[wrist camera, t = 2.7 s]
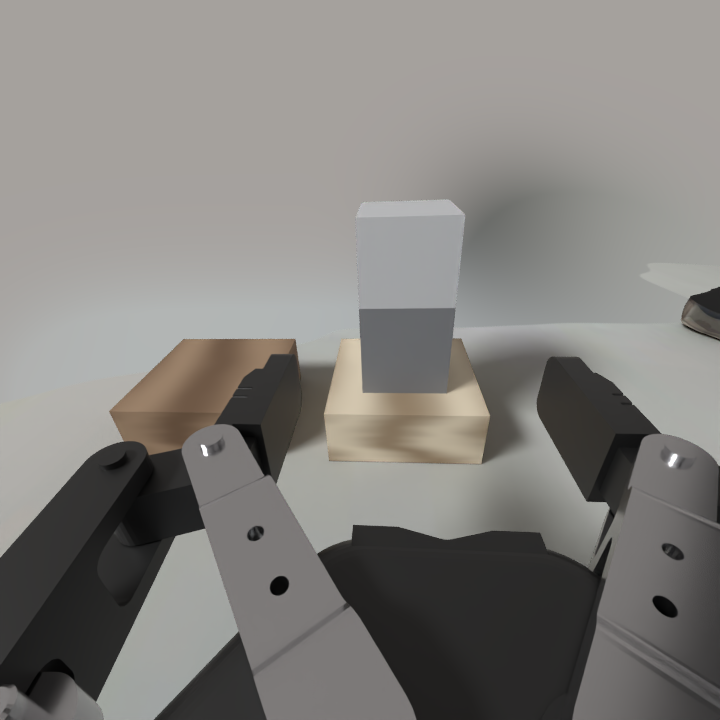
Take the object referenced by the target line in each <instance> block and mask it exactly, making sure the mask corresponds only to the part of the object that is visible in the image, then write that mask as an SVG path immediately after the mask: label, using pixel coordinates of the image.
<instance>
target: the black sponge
mask: <svg viewBox="0 0 720 720" xmlns="http://www.w3.org/2000/svg"><path fill="white" fill-rule="evenodd" d="M681 321H682V323H683V324H685V325H686V326H688V327H690V328H692V329H695V330H697V331H699V332H701V333H705V334H707V335H710V336H713V337H716V338H718V339H720V287H718V288H715V289H711V291H708V292H705V293H701V294H697V295H693V296H691V297H690V298H689V300H688V302H687V303H686V305H685V307H684V310H683V313H682V318H681Z"/></svg>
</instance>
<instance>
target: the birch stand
mask: <svg viewBox="0 0 720 720" xmlns="http://www.w3.org/2000/svg"><path fill="white" fill-rule="evenodd" d="M324 418H325V427H326V436H327V445H328V454H329V461H367V462H412V463H457V464H481V462H482V457H483V452H484V446H485V441H486V436H487V430H488V425H489V420H490V414H489V412H488V409H487V406H486V404H485V401H484V398H483V396H482V393H481V390H480V388H479V385H478V382H477V380H476V377H475V374H474V372H473V369H472V366H471V364H470V361H469V358H468V356H467V353H466V350H465V347H464V345H463V342H462V339H452V347H451V356H450V366H449V375H448V385H447V394H439V393H363V391H362V367H361V342H360V339H341V343H340V348H339V352H338V356H337V361H336V365H335V369H334V373H333V378H332V382H331V386H330V391H329V395H328V399H327V403H326V408H325V412H324Z"/></svg>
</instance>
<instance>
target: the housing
mask: <svg viewBox="0 0 720 720" xmlns="http://www.w3.org/2000/svg"><path fill="white" fill-rule="evenodd" d="M355 220H356V245H357V270H358V294H359V317H360V342H361V367H362V391H363V393H439V394H447V385H448V375H449V366H450V356H451V347H452V337H453V327H454V318H455V308H456V299H457V289H458V279H459V270H460V260H461V251H462V241H463V231H464V221H465V214H464V213H463V212H462V211H461V210H460V209H459V208H458V207H457V206H455V205H454V204H453V203H452V202H451V201H450V200H422V201H421V200H420V201H389V202H362V203H361V206H360V208H359V210H358V213H357V215H356V217H355Z"/></svg>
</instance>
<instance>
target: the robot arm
mask: <svg viewBox="0 0 720 720" xmlns="http://www.w3.org/2000/svg"><path fill="white" fill-rule="evenodd" d="M232 396H233V397H232V398H231V399H230V400H229V402H228V403H227V405H226V407H225V408H224V410H223V411H222V413H221V415H220V416H219V418H218V419H217V421H216V423H215V424H214V425H212V426H208V427H205V428H202V429H200V430H198V431H196V432H195V433H193V434H192V435H191V436H190V437H189V438H188V439H187V440H186V441H185V442H184V444H183V446H182V448H181V449H177V450H172V451H167V452H162V453H157V454H152V455H149V454H148V451H147V449H146V447H145V446H144V445H143V444H142V443H140V442H136V441H125V442H119V443H116V444H113V445H110V446H107V447H105V448H103V449H101V450H99V451H98V452H96V453H95V454H93V455H92V456H91V457H89V458H88V459H87V460H86V461H85V462H84V463H83V465H82V466H81V467H80V468H79V469H78V470H77V471H76V473H75V474H74V475H73V476H72V477H71V478H70V479H69V480H68V482H67V483H66V484H65V485H64V486H63V487H62V488H61V490H60V491H59V492H58V493H57V494H56V495H55V496H54V498H53V499H52V500H51V501H50V502H49V503H48V504H47V505H46V507H45V508H44V509H43V510H42V511H41V512H40V513H39V515H38V516H37V517H36V518H35V519H34V520H33V521H32V522H31V524H30V525H29V526H28V527H27V528H26V529H25V530H24V532H23V533H22V534H21V535H20V536H19V537H18V538H17V540H16V541H15V542H14V543H13V544H12V545H11V546H10V547H9V549H8V550H7V551H6V552H5V553H4V554H3V555H2V557H1V558H0V720H104V718H103V713H102V710H101V708H100V707H99V705H98V704H97V703H96V701H97V699H98V697H99V695H100V692H101V690H102V688H103V686H104V684H105V682H106V680H107V678H108V676H109V674H110V672H111V670H112V667H113V665H114V663H115V661H116V659H117V657H118V655H119V653H120V651H121V649H122V647H123V644H124V642H125V640H126V638H127V636H128V634H129V632H130V630H131V628H132V626H133V624H134V622H135V619H136V617H137V615H138V613H139V611H140V609H141V607H142V605H143V603H144V601H145V599H146V597H147V594H148V592H149V590H150V588H151V586H152V584H153V582H154V580H155V578H156V576H157V574H158V572H159V569H160V567H161V565H162V563H163V561H164V559H165V557H166V555H167V553H168V551H169V549H170V547H171V544H172V542H173V540H174V538H175V536H177V535H181V534H185V533H189V532H193V531H197V530H201V529H206V532H207V535H208V538H209V541H210V544H211V547H212V550H213V553H214V556H215V559H216V562H217V565H218V568H219V572H220V575H221V578H222V581H223V584H224V587H225V590H226V593H227V596H228V599H229V602H230V605H231V608H232V611H233V614H234V618H235V621H236V624H237V627H238V630H239V632H238V633H237V634H236V635H235V636H234V637H233V638H232V639H231V640H230V641H229V642H228V643H227V644H226V645H225V646H224V647H223V648H222V649H221V650H220V651H219V652H218V654H217V655H216V656H215V657H214V658H213V659H212V660H211V661H210V662H209V663H208V664H207V665H206V666H205V667H204V668H203V669H202V670H201V671H200V672H199V673H198V674H197V675H196V676H195V677H194V678H193V680H192V681H191V682H190V683H189V684H188V685H187V686H186V687H185V688H184V689H183V690H182V691H181V692H180V693H179V694H178V695H177V696H176V697H175V698H174V699H173V700H172V701H171V702H170V703H169V704H168V706H167V707H166V708H165V709H164V710H163V711H162V712H161V713H160V714H159V715H158V716H157V717H156V718H155V719H154V720H720V466H718V465H717V462H716V461H715V460H714V458H713V457H712V456H711V455H710V454H709V453H707V452H706V451H705V450H703V449H702V448H700V447H699V446H697V445H695V444H693V443H691V442H689V441H687V440H684V439H681V438H678V437H675V436H671V435H665V434H661V433H660V432H659V431H658V430H657V428H656V427H655V426H654V425H653V424H652V423H651V422H650V421H649V420H648V419H647V418H646V417H645V416H644V415H643V414H642V413H641V412H640V411H639V410H638V409H637V408H636V406H635V405H632V402H631V401H630V400H629V399H628V398H627V397H626V396H623V393H622V392H621V391H620V390H619V389H618V388H617V387H616V386H615V384H614V383H613V382H611V381H609V380H608V379H606V378H604V377H602V376H601V375H599V374H597V373H593V372H592V371H591V370H590V369H589V368H588V367H587V365H586V364H585V363H584V362H583V361H582V360H581V359H580V358H579V357H551V358H549V360H548V361H547V364H546V368H545V371H544V375H543V379H542V383H541V386H540V390H539V394H538V398H537V411H538V415H539V417H540V419H541V421H542V423H543V425H544V426H545V428H546V430H547V432H548V433H549V435H550V437H551V439H552V441H553V442H554V444H555V446H556V448H557V449H558V451H559V453H560V455H561V457H562V458H563V460H564V462H565V464H566V466H567V467H568V469H569V471H570V473H571V474H572V476H573V478H574V480H575V482H576V483H577V485H578V487H579V489H580V490H581V492H582V494H583V496H584V498H585V499H586V501H587V502H607V504H608V506H609V507H610V508H609V510H608V512H607V514H606V516H605V519H604V522H603V525H602V528H601V531H600V534H599V537H598V540H597V543H596V546H595V549H594V552H593V555H592V558H591V561H590V564H589V567H588V568H587V567H585V566H583V565H582V564H580V563H578V562H576V561H574V560H572V559H570V558H568V557H566V556H564V555H562V554H559V553H556V552H554V551H551V550H547V549H546V547H545V544H544V542H543V539H542V537H541V534H540V533H534V532H510V531H490V532H485V533H480V534H475V535H471V536H466V537H461V538H456V539H451V540H444V539H439V538H436V537H432V536H429V535H425V534H422V533H418V532H414V531H411V530H407V529H404V528H400V527H388V526H364V525H353V532H352V540H348V541H344V542H341V543H338V544H335V545H332V546H330V547H328V548H326V549H324V550H322V551H321V552H319V553H318V554H317V553H316V552H315V550H314V548H313V547H312V545H311V543H310V541H309V540H308V538H307V536H306V535H305V533H304V531H303V529H302V528H301V526H300V524H299V523H298V521H297V519H296V518H295V516H294V514H293V512H292V511H291V509H290V507H289V506H288V504H287V502H286V500H285V499H284V497H283V495H282V494H281V492H280V490H279V488H278V487H277V485H276V483H277V480H278V477H279V474H280V471H281V468H282V465H283V462H284V459H285V456H286V453H287V450H288V447H289V444H290V441H291V438H292V435H293V432H294V429H295V426H296V423H297V420H298V417H299V414H300V410H301V402H302V396H301V387H300V379H299V372H298V364H297V358H296V356H295V354H271V355H270V357H269V359H268V361H267V362H266V364H265V366H264V368H263V369H254V370H253V371H252V372H250V373H249V374H247V375H246V376H245V377H244V378H243V379H242V381H241V383H240V384H239V386H238V389H236V391H235V392H234V394H233V395H232Z"/></svg>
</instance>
